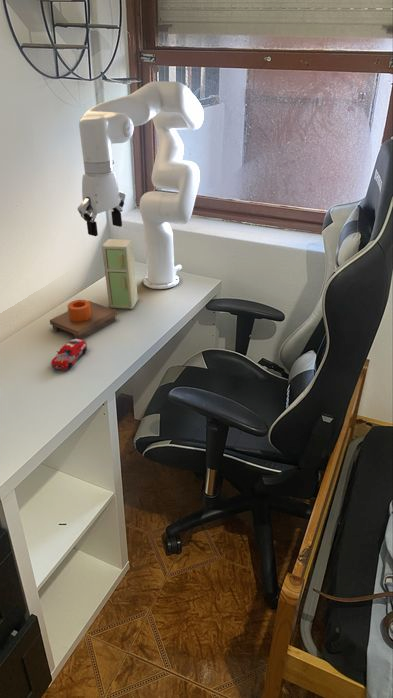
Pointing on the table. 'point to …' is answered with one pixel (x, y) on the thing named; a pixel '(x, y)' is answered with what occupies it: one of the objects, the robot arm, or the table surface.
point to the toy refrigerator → (120, 273)
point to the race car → (69, 354)
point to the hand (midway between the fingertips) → (105, 230)
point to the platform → (85, 328)
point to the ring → (79, 310)
